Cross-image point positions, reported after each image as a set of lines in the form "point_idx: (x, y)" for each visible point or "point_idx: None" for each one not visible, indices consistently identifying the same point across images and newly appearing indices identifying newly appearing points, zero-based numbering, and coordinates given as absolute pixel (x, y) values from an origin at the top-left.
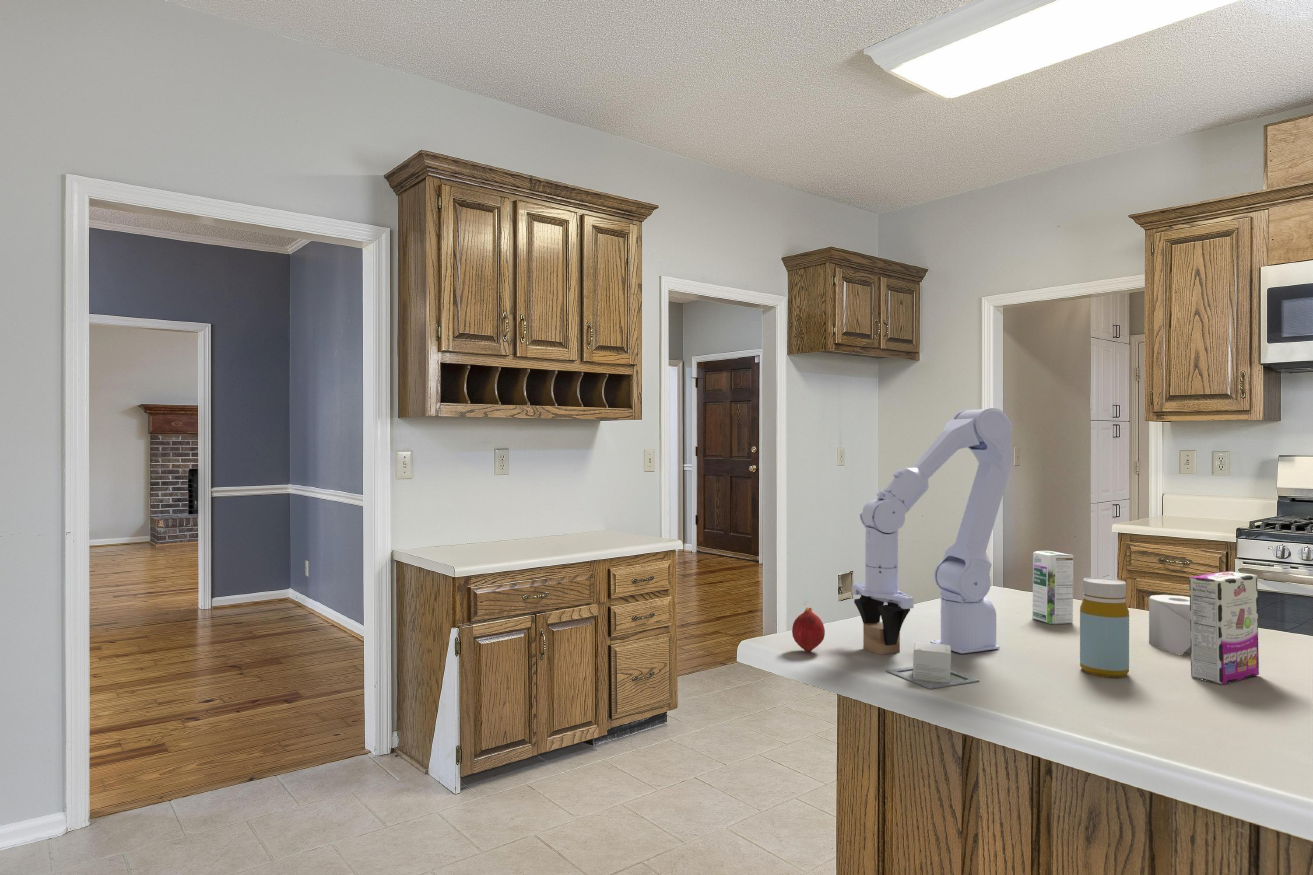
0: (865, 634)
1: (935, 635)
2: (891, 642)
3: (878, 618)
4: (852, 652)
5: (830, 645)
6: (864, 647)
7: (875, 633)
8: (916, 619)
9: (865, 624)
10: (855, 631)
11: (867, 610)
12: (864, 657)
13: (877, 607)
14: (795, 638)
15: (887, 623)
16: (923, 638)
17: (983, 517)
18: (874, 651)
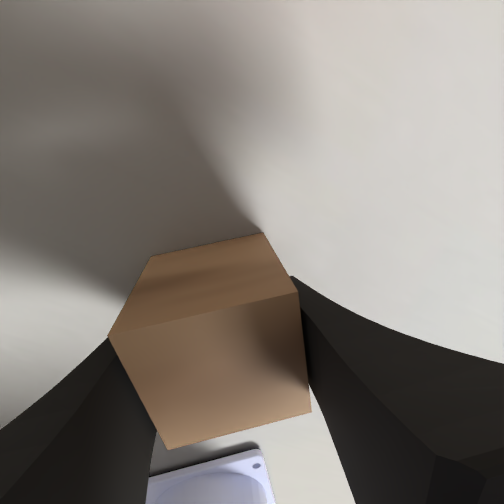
0: (259, 263)
1: (336, 474)
2: None
3: (324, 409)
4: (202, 143)
5: (356, 89)
6: (257, 236)
7: (165, 299)
8: None
9: (275, 297)
10: (480, 305)
11: (356, 409)
12: (97, 159)
13: (366, 501)
14: None
15: (11, 423)
16: (321, 446)
17: None
18: (185, 250)
